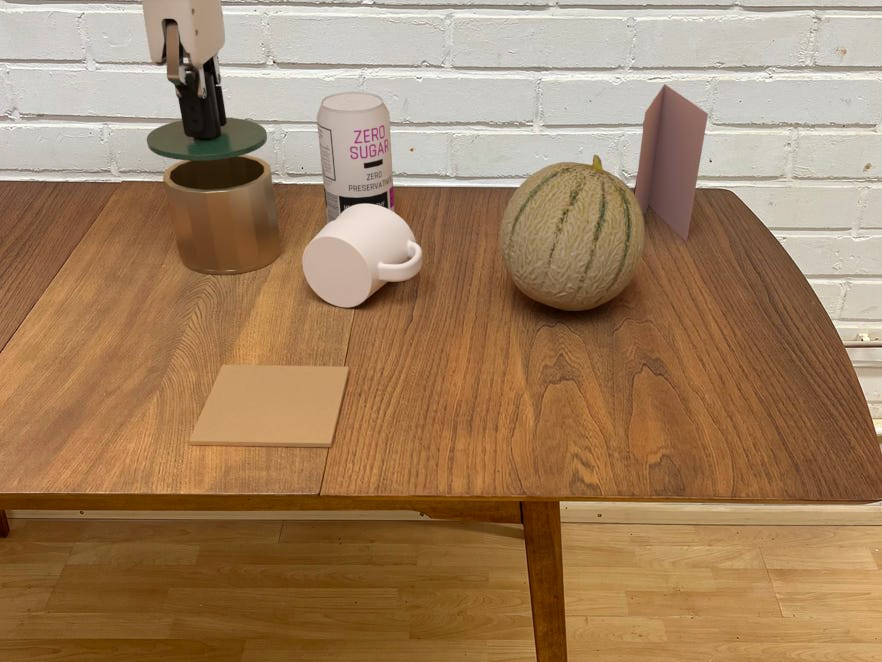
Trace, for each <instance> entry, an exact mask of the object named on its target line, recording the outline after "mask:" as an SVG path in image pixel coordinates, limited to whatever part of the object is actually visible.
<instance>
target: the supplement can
mask: <svg viewBox="0 0 882 662" xmlns="http://www.w3.org/2000/svg"><path fill="white" fill-rule="evenodd" d="M390 119H391V117H390V111H389V109H388V107H387V106H386V104H385V102H384V98H383V97H381V95H379V94H376V93H373V92H372V93H371V92H367V91H342V92H337V93H332V94H329V95H326V96H325V97H323V98H322V99H321V100H320V106H319V109H318V111H317V114H316V125H317V134H318V143H319V153H320V163H321V174H322V182H323V183H322V184H323V192H324V203H325V213H326V221H327V224H328V223H329V222H331V221H334V220H336V218H337V217H338V216H339V215H340V214H341V213H342V212H343V211H344V210H345V209H347V208H349V207H351V206H353V205H357V204H375V205H379V206H382V207H385V208H387V209H389V210H391V211H393V212H394V213H396V212H395V198H394V197H395V196H394V195H395V194H394V176H393V175H394V174H393V158H392V156H393V155H392V154H393V153H392V138H391V120H390Z"/></svg>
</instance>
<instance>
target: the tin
mask: <svg viewBox="0 0 882 662" xmlns="http://www.w3.org/2000/svg"><path fill="white" fill-rule="evenodd" d="M162 181H163V186H164V190H165V194H166V198H167V199H166V200H167V204H168V209H169V213H170V218H171V223H172V228H173V232H174V235H175V236H174V237H175V241H176V246H177V249H178V254H179V255H178V256H179V257H180V259H181V262H182V263H183V265H185V266H186V267H187V268H189V270H192V271H195V272H198V273H200V274H201V273H202V274H206V275H217V276H227V275H228V276H229V275H238V274H244V273H249V272H252V271H256V270H260V269H262V268H265V267H266V266H269V265H270V264H272V263H273V262H275V261H276V260H277V259H278V258H279V256H280V255H281V252H282V240H281V233H280V226H279V218H278V211H277V205H276V204H277V203H276V200H275V199H276V197H275V191H274V183H273V176H272V169H271V165H270V164H269V163H268V162H267V161H265V160H264V159H263V158H260V157H256V156H253V155H249V154H244V155H241V156H237V157H232V158H226V159H219V160H207V161H189V160H180V161H179V162H176V163H173V164H172V165H171V166H169V168H167V169H165V170H164V173H163V177H162Z"/></svg>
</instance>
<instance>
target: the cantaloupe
mask: <svg viewBox="0 0 882 662" xmlns="http://www.w3.org/2000/svg"><path fill="white" fill-rule="evenodd" d="M602 163H603V162H602V160H601V158H600V156H599V155H598V154H593V157H592V164H589V163H581V162H574V161H561V162H556V163H553V164H549V165H547V166H545V167H542V168H541V169H540V170H537V171H536V172H534V173H532V174H531V175H529V176H528V177H527V178H526V179H525V180H524V181H523V182H522V183H521V184H520V185H519V187H518V188H517V189H516V190H515V192H514V193H513V195H512V196H511V198H510V199H509V201H508V204H507V206H506V207H505V210H504V213H503V216H502V219H501V224H500V229H499V246H500V247H499V248H500V250H499V251H500V256H501V260H502V262H503V266H504V268H505V270H506V271H507V273H508V276H509V277H510V278H511V280H512V281H513V283H514V285H515V287H517V288H518V289H519V291H521V293H522V294H524V295H526V296H527V297H528V298H529V299H532V300H533V301H536V302H538V303H540V304H543V305H545V306H549V307H552V308H554V309H558V310H562V311H569V312H570V311H572V312H573V311H574V312H575V311H576V312H578V311H579V312H580V311H586V310H592V309H594V308H596V307H598V306H601V305H604V304H606V303H607V302H609V301H611V300H613V299H614V298H615V297H617V296H619V294H621V292H622V291H623V290H624V289H625V288H626V287H627V286H628V285H629V284H630V282H631V280H632V279H633V278H634V276H635V275H636V272H637V270H638V268H639V266H640V263H641V260H642V257H643V253H644V247H645V238H646V232H645V231H646V228H645V218H644V215H643V213H642V210H641V207H640V204H639V202H638V200H637V198H636V197H635V195H634V191H633V190H632V189H631V188H630V187H629V186H628V185H627V183H626V182H624V181H623V180H622V179H621V178H620V177H618V176H617V175H615V174H612V173H611V172H609V171H607V170H604V167H603V164H602Z"/></svg>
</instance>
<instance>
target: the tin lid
mask: <svg viewBox="0 0 882 662" xmlns="http://www.w3.org/2000/svg"><path fill="white" fill-rule="evenodd" d="M186 73H187V74H192V76H193V77H194V79H195V72H190V71H188V72H186ZM204 79H205V87H206V96H210V97H211V104H212V110H213V116H214V122H215V129H216V135H215V136H214V137H213V138H202V137H187V136H186V135H185V133H184V128H183V122H182V119H181V120H177V121H173V122H172V121H171V122H169V123H165V124H163V125H161V126H158V127H156V128H155V129H153V130H151V131H150V132H149V133H148V134H147V136H146V144H147V147H148V149H149V151H151V152H152V153H154V154H156V155H157V156H161V157H164V158H168V159H172V160H178V161H179V160H180V161H184V160H189V161H207V160H219V159H226V158H232V157H237V156H241V155H248V154H251V153H253V152H256V151H257V150H259V149H260V148H262V147H263V146H264V145H265V144H266V142H267V141H268V134H267V133H268V132H267V130H266V128H265V127H264V126H262V125H260V124H259V123H257V122H255V121H252V120H248V119H244V118H243V119H242V118H235V117H227V116H226V120H227V123H226V124H225V126H220V120H219V113H218V107H217V101H216V94H215V88H214V81H213V75H212V74H211V73H209V72H204ZM195 81H196V79H195Z"/></svg>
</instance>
